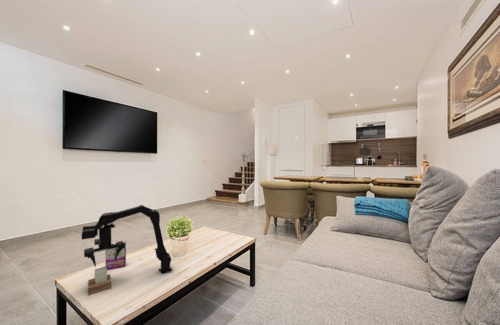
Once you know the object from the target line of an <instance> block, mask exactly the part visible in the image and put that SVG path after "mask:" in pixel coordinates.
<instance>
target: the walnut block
mask: <svg viewBox="0 0 500 325" xmlns="http://www.w3.org/2000/svg"><path fill="white" fill-rule="evenodd" d="M111 289H112V278H111V274H107V281H104V282H101V283H98V284H96V283H95V277H94V278H90V279H88V282H87V295H88V296H91V295H95V294H97V293H100V292H104V291H107V290H111Z"/></svg>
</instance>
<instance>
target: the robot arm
mask: <svg viewBox="0 0 500 325" xmlns="http://www.w3.org/2000/svg"><path fill="white" fill-rule="evenodd" d="M140 213H141V214H143V215H144V216H146V217H148V218H149V220H150V222H151V224H152V226H153V227H152V228H153V231H154V235H155V241H156V248H154V250H155V256H156V259H158V260H159V261H160V268H158V271H159V272H160V273H161V274H162V275H163V274H166V273H168V272H171V271H173V268H172V267H171V263H172V257H171V255H170V253H168V251H167V249H166V247H165V245H164V240H163V235H162V231H161V225H160V222H161V220H160V219H161V218H160V217H161V215H160V212H159V210H157V209H153V208H149V207H147V206H145V205H143V204H140V205H138V206H135V207H134V206H133V207H130V208H126V209H123V210H120V211H114V212H113V211H111V212H104V213H102V214H101V215H100V217H99V218H98V222H96V224H95V225H85V226H83V227H82V231H81V232H82V233H81V240H88V239H94V238H95V239H94V241H93V242H94V246H97V248H94V247H93V246H92V247H87V248H85V249H84V250H83V257H84V258H87V259H90V260H91V262H92V264H93V266H94V267H96V266H97V264H96V263H97V262H96V258H95V257H96V256H95V253H99V252H103V251H106V250H108V249H112V248H115V256H114V261H116V259H117V256H118V254H119V252H120V251H121V250H123V249H122V248H125V243H124V242H123V241H121V240H119V241H120V242H116V244H115V245H111V242H112V229H113V228H114V229H115V228H116V224H114V222H116V221H117V220H118V221H119V220H120V219H123V218H127V217H131V216H134V215H137V214H140ZM96 237H98V238H97V239H96Z"/></svg>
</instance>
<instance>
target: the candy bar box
mask: <svg viewBox="0 0 500 325" xmlns="http://www.w3.org/2000/svg"><path fill="white" fill-rule="evenodd" d="M120 241H123V242H124V243H125V248H122V249H123V250H121V251H120V252H119V254H118V256H117V259H116V261H114V256H115V248H112V249H108V250H105V266H106V268H107V271H109V270H114V269H119V268H122V267H123V268H125V267H126V265H127V239H123V240H116V241H111V245H115V244H116V242H120Z"/></svg>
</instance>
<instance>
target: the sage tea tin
mask: <svg viewBox="0 0 500 325" xmlns="http://www.w3.org/2000/svg"><path fill="white" fill-rule="evenodd" d="M107 275H108V270H107V268H106V265H105V266H102V267H99V268H94V278H95V283H96V284H98V283H101V282H104V281H107Z"/></svg>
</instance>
